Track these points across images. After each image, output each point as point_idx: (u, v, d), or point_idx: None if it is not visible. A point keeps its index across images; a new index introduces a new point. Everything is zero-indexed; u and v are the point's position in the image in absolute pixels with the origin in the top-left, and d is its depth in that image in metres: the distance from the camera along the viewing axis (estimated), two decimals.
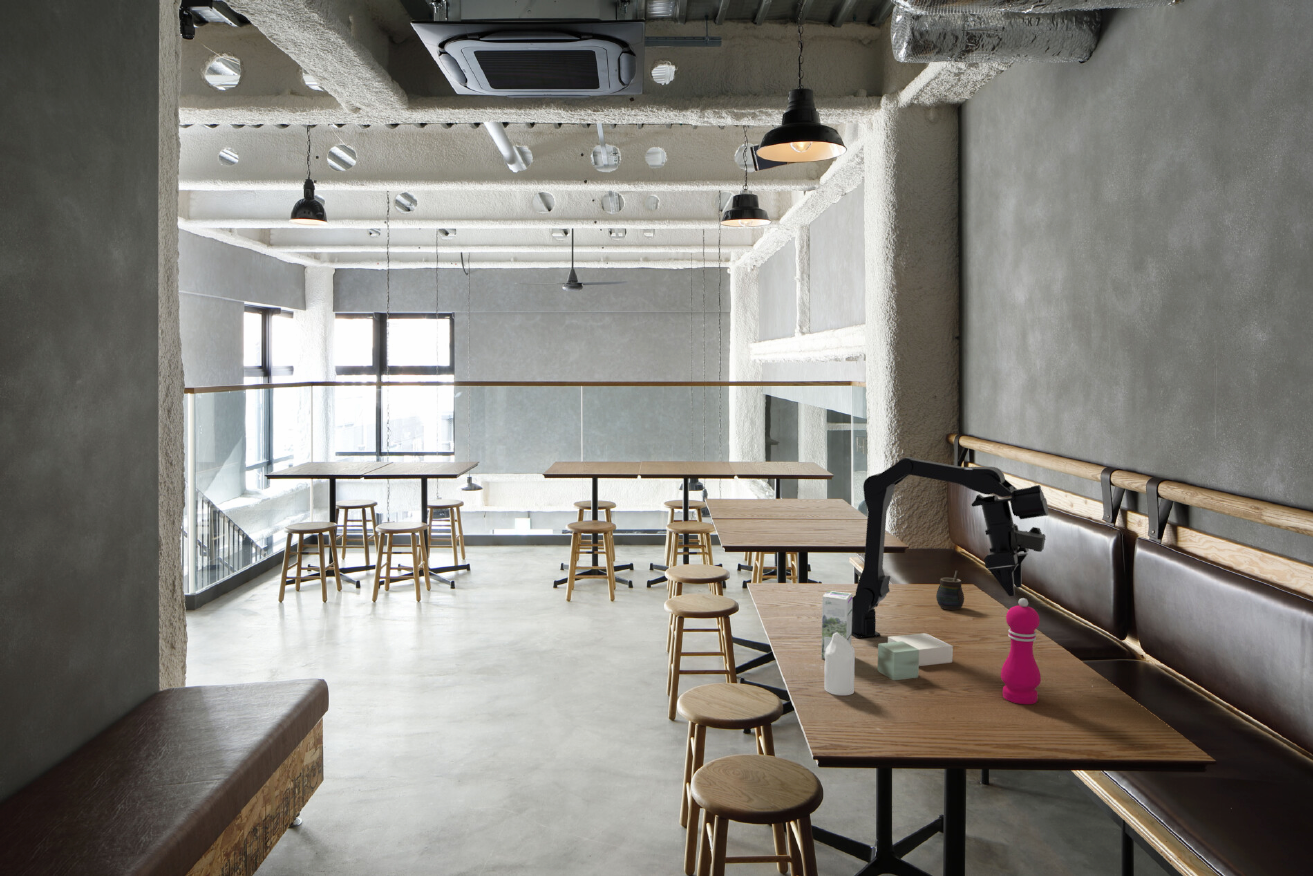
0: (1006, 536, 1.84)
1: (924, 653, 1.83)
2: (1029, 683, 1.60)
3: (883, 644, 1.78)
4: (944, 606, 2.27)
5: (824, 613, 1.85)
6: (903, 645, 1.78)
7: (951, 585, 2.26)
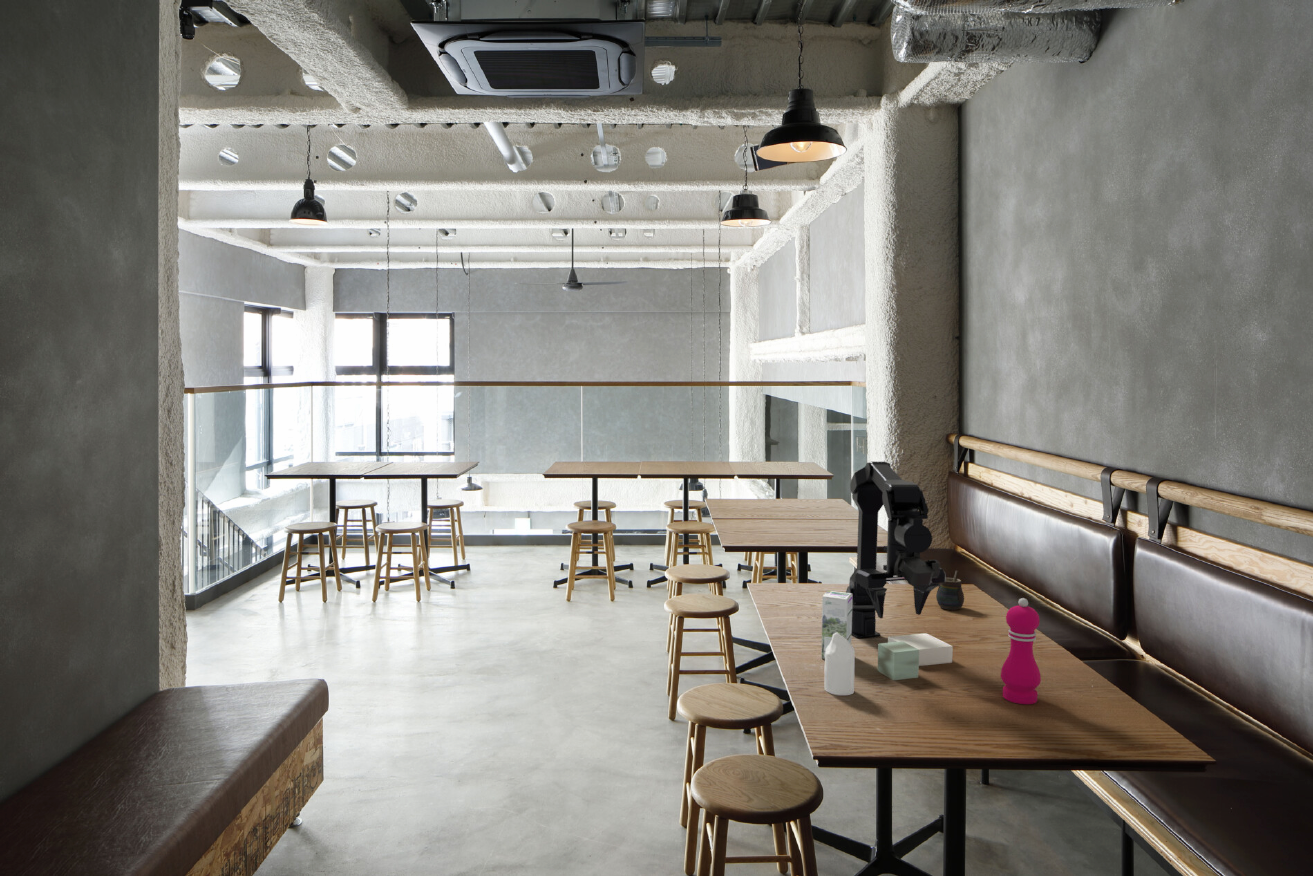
0: (894, 558, 1.73)
1: (924, 653, 1.83)
2: (1029, 683, 1.60)
3: (883, 644, 1.78)
4: (944, 606, 2.27)
5: (824, 613, 1.85)
6: (903, 645, 1.78)
7: (951, 585, 2.26)
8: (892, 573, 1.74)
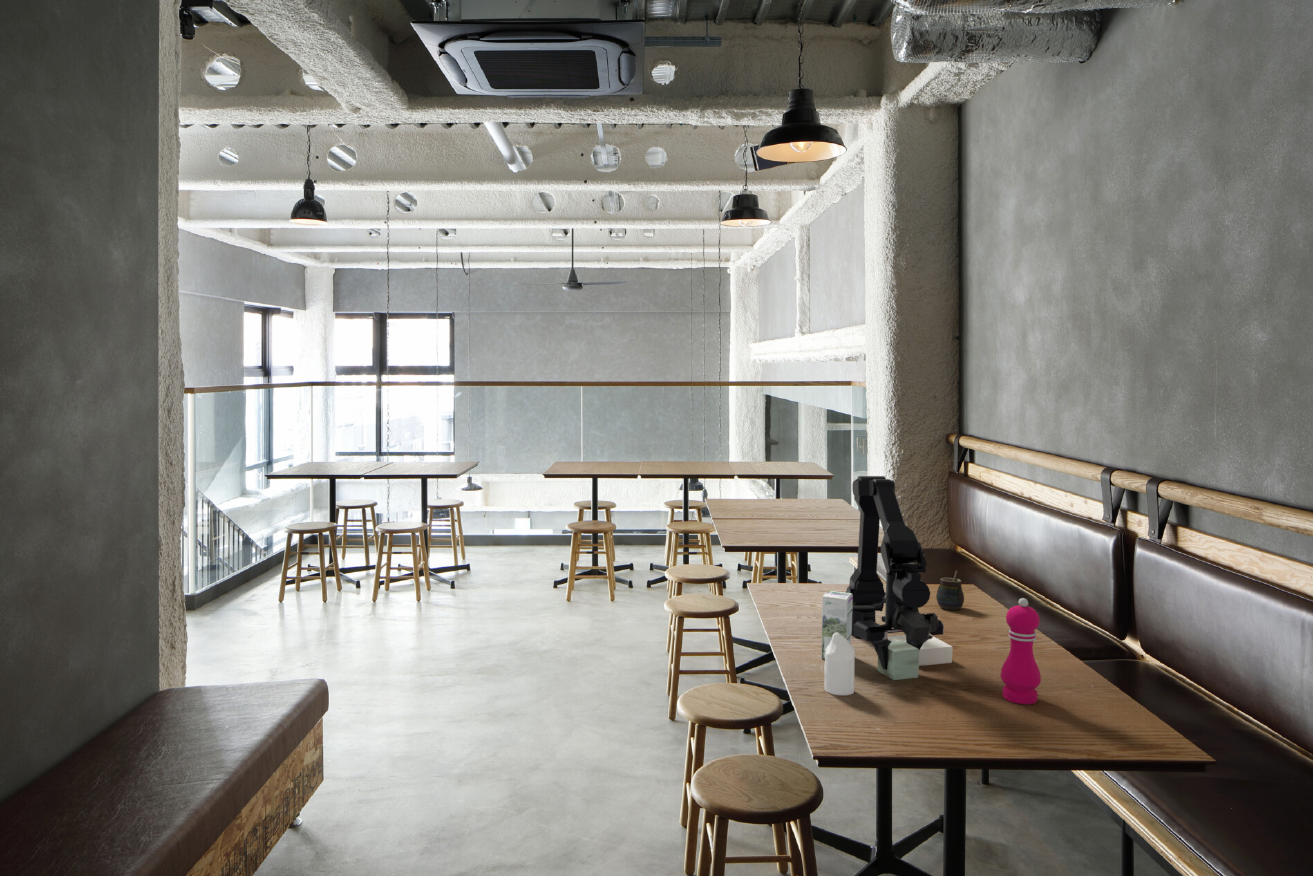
0: (892, 611, 1.74)
1: (923, 654, 1.83)
2: (1029, 683, 1.60)
3: None
4: (944, 606, 2.27)
5: (824, 613, 1.85)
6: (903, 645, 1.78)
7: (951, 585, 2.26)
8: (890, 625, 1.75)
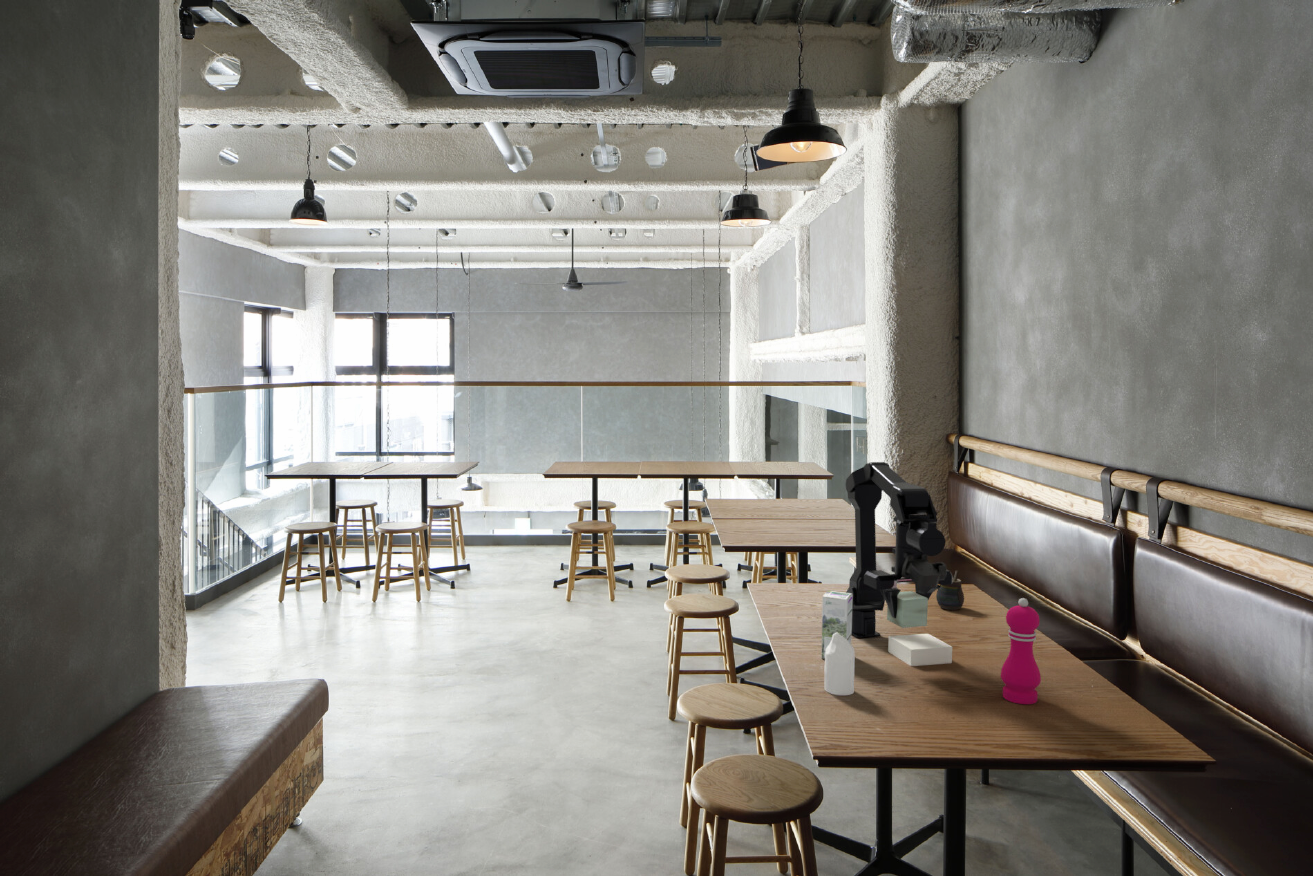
0: (902, 561, 1.78)
1: (922, 653, 1.83)
2: (1029, 683, 1.60)
3: None
4: (944, 606, 2.27)
5: (824, 613, 1.85)
6: (912, 594, 1.81)
7: (951, 585, 2.26)
8: (900, 575, 1.78)
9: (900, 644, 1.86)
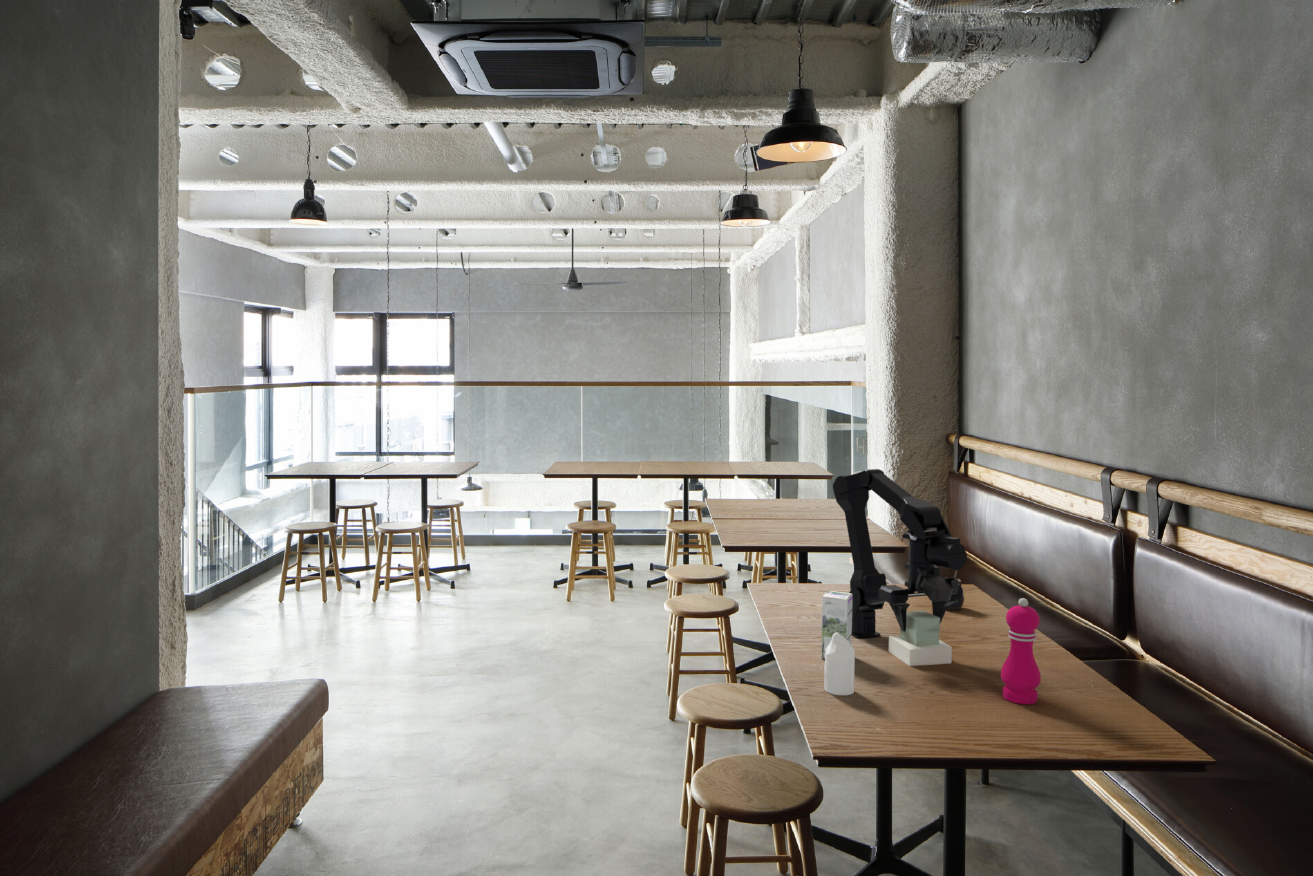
0: (915, 575, 1.85)
1: (921, 653, 1.83)
2: (1029, 683, 1.60)
3: None
4: None
5: (824, 613, 1.85)
6: (924, 614, 1.89)
7: None
8: (913, 589, 1.85)
9: (899, 644, 1.87)
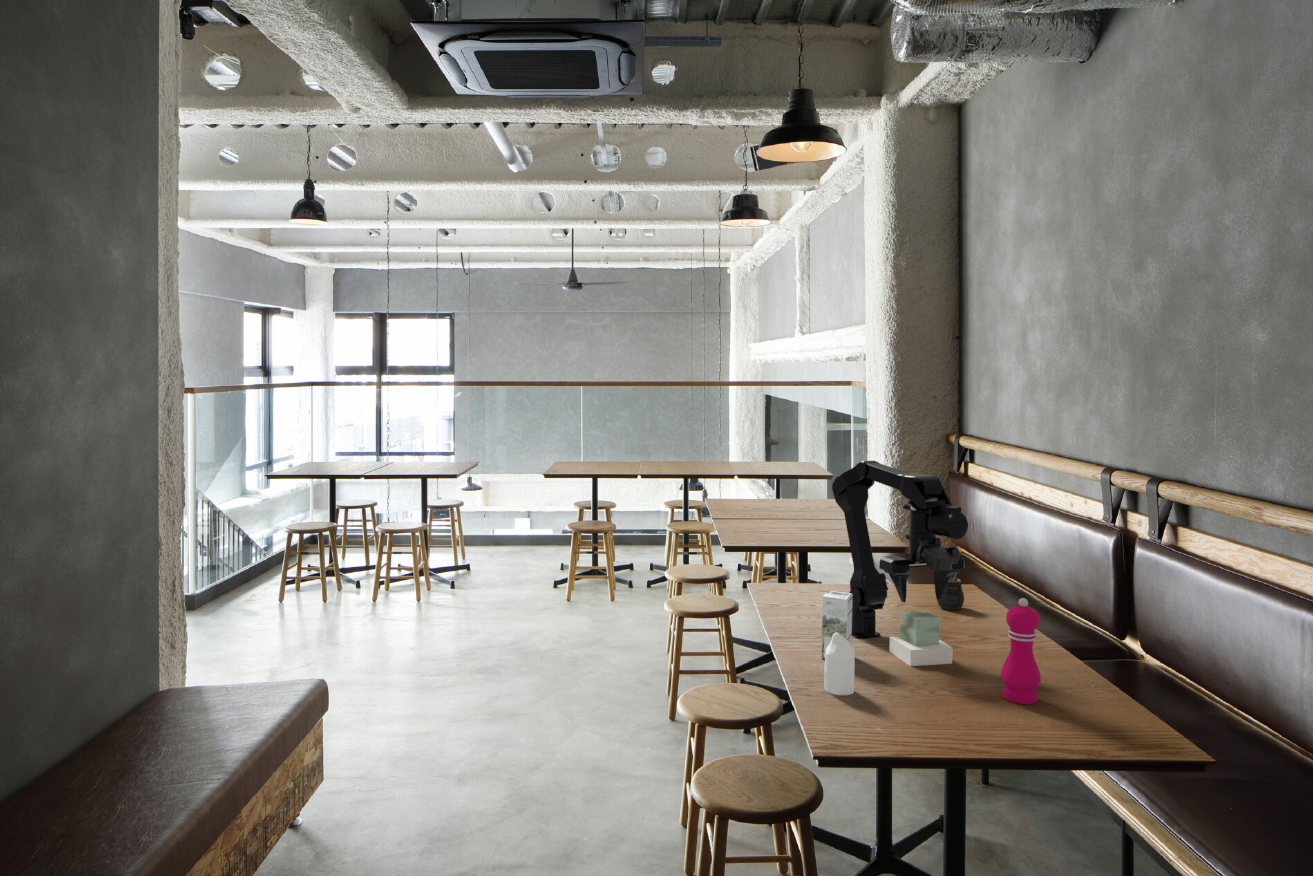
0: (916, 546, 1.84)
1: (922, 654, 1.83)
2: (1029, 683, 1.60)
3: (906, 613, 1.89)
4: (944, 606, 2.27)
5: (824, 613, 1.85)
6: (924, 614, 1.89)
7: (951, 585, 2.26)
8: (914, 560, 1.85)
9: (900, 644, 1.87)
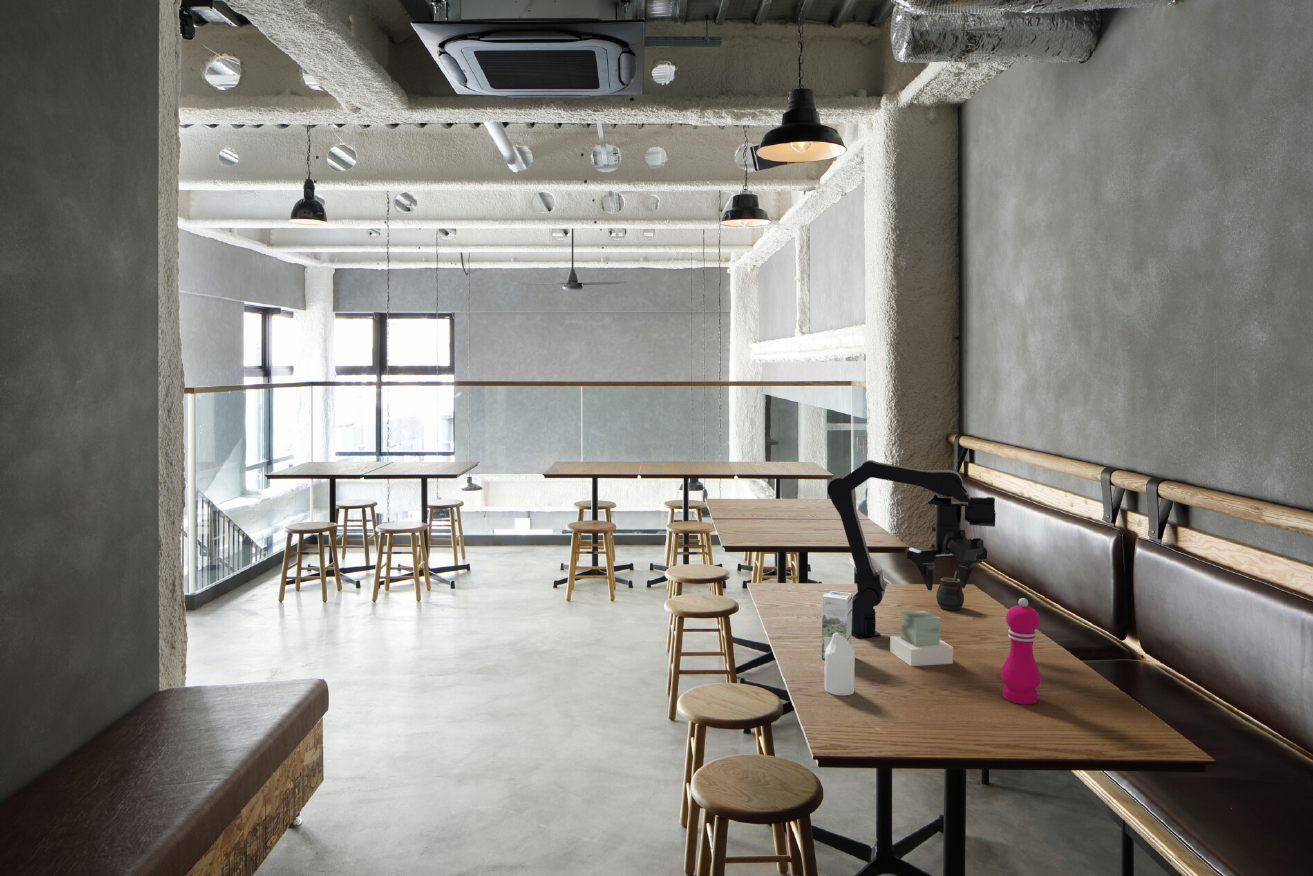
0: (942, 537, 1.95)
1: (923, 654, 1.83)
2: (1029, 683, 1.60)
3: (907, 613, 1.89)
4: (944, 606, 2.27)
5: (824, 613, 1.85)
6: (925, 614, 1.88)
7: (951, 585, 2.26)
8: (940, 550, 1.95)
9: (901, 644, 1.87)
